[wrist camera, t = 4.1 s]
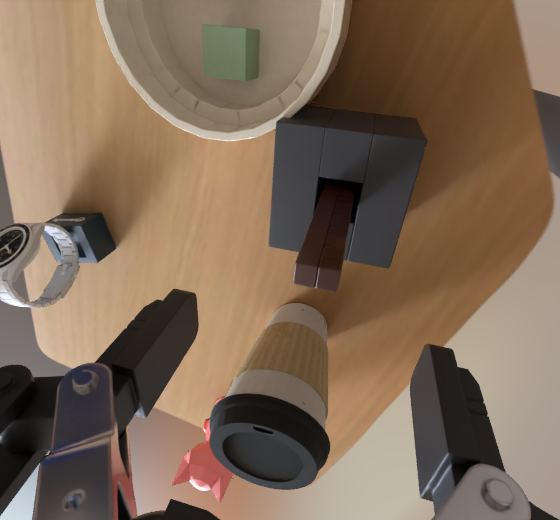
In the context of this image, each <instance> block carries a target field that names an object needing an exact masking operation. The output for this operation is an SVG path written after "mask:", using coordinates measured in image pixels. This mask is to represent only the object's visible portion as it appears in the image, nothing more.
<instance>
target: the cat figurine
mask: <svg viewBox="0 0 560 520" xmlns="http://www.w3.org/2000/svg"><path fill="white" fill-rule="evenodd" d="M223 398H225V397H223ZM223 398H220V399H219V400H217V401H216V404H217V403H218V402H219V401H220V400H222V399H223ZM203 426H204V427H203V429H204V431H205V433H206V442H205V443H201V444H198V445H197V446H195V447H194V448H193V449H192V450H191V451H189V452H188V453H187V454H186V455H185V456H184V457H183V459H182V462H181V464H180V467H179V470H178V472H177V475H176V477H175V479H174V482H173V484H172V485H176V484H180V483H183V482H186V481H190V482H191V484H192V485H193V486H194V487H196V488H197V489H199V490H205V491H207V490H209V489H212V491H213V493H214V495H215V496H216V498H217V500H218V502H219V503H221V501H222V498H223V496H224V494H225V491H226V489H227V487H228V485H229V482H230V480H231V478H232V472H231V471H229V470H228V469H227V468H225V467H224V466H223V465H222V464H221V463H220V462H219V461H218V460H217V459H216V457H215V456H214V454H213V452H212V451H211V448H210V444H209V443H210V434H211V431H210V427H209V426H210V418H209V419H206V420H205V422H204V425H203Z"/></svg>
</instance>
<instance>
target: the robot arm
mask: <svg viewBox="0 0 560 520" xmlns="http://www.w3.org/2000/svg"><path fill="white" fill-rule="evenodd" d="M198 325H199V324H198V311H197V298H196V294H195V293H193V292H188V291H183V290H179V289H173V290H172V291H171V292H170V293H169V294H168V295H167V297H166V298H165V299H164V300H163V301H162V300H156V301H154V302H152V303H150V304H149V305H147V306H145V307H144V308H143V309H142V310H141V311H140V312H139V314H138V315H137V316H136V317H135V319H134V320H132V321H131V322H130V324H129V325H128V326H127V328H125V329H124V330H123V331H122V333H121V334H120V335H119V336H118V337H117V338H116V339H115V340H114V342H113V343H112V344H111V345H110V346H109V347H108V348H107V349H106V351H105V352H104V353H103V354H102V355H101V356H100V357H99V358H98V360H97V361H96V362H95V363H87V364H83V365H80V366H78V367H76V368H74V369H72V370H71V371H70V372H68V373H67V374H66V375H65V376H55V377H33V376H32V374H31V372H30V370H29V369H28V368H27V367H25V366H22V365H8V366H4V367H1V368H0V516H1V514H2V513H3V512H4V510H5V509H6V508H7V506H8V505H9V503H10V502H11V501H12V499H13V498H14V496H15V495H16V494H17V493H18V491H19V490H20V488H21V487H22V486H23V485H24V483H25V482H26V481H27V479H28V478H29V476H30V475H31V474H32V472H33V471H34V470H35V468H36V467H37V466H38V464H39V463H40V466H39V471H38V479H37V487H36V495H35V502H34V510H33V517H32V520H220V519H218V518H217V517H215V516H214V515H213V514H212V513H210V512H209V511H207V510H204V509H201V508H198V507H195V506H191V505H188V504H185V503H182V502H179V501H176V500H173V499H171V500H170V502H169V504H168V507H167V509H166V511H155V512H150V513H147V514H143V515H140V516H138V517H137V508H136V502H135V497H134V491H133V484H132V472H131V458H130V445H129V432H128V424H129V422H130V421H131V419H132V418H133V416H134V415H135V416H139V417H142V418H147V416H148V414H149V413H150V411H151V409H152V408H153V406H154V405H155V403H156V401H157V400H158V398H159V397H160V395H161V393H162V392H163V390H164V388H165V387H166V385H167V384H168V382H169V380H170V379H171V377H172V376H173V374H174V372H175V371H176V369H177V367H178V366H179V364H180V363H181V361H182V359H183V358H184V356H185V355H186V353H187V351H188V350H189V348H190V346H191V345H192V343H193V342H194V340H195V338H196V335H197V332H198ZM410 397H411V407H412V418H413V428H414V438H415V449H416V458H417V470H418V479H419V490H420V498H422V499H426V500H429V501H433V503H434V511H435V516H434V517H433V518H432V520H558V519H557V518H555V517H553V516H552V515H549V514H548V513H546V512H545V511H543V510H541V509H540V508H538V507H536V506H535V505H533V504H532V503H531V502H529V501H528V499H527V497H526V495H525V494H524V492H523V490H522V489H521V488H520V486H519V485H518V484H517V483H516V482H515V480H513V479H512V478H511V477H510V476H509V475H508V474H506V471H505V469H504V466H503V463H502V459H501V456H500V453H499V449H498V446H497V443H496V439H495V436H494V433H493V430H492V426H491V423H490V420H489V417H487V414H488V413H487V410H486V406H485V404H484V403H483V401H484V400H483V397H482V393H481V390H480V386H479V384H478V383H477V381H476V380H475V378H474V377H473V376H472V374H471V373H470V372H469V370H468V369H464V368H459V367H457V363H456V360H455V355H454V352H453V350H452V349H450V348H445V347H441V346H436V345H431V344H426V345H425V346H424V348H423V351H422V353H421V356H420V358H419V360H418V363H417V365H416V367H415V370H414V372H413V374H412V378H411V384H410ZM48 451H50V453H49V455H46V454H47V452H48ZM45 455H46V456H45Z"/></svg>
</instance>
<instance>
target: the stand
mask: <svg viewBox="0 0 560 520" xmlns="http://www.w3.org/2000/svg"><path fill="white" fill-rule="evenodd" d="M426 144H427V139H426V137H425V135H424V134H423V132H422V130H421V128H420V126H419V124H418V122H417V120H416V119H415V118H406V117H398V116H389V115H380V114H372V113H364V112H355V111H346V110H337V109H329V108H320V107H312V106H304V107H303V108H302V109H301V110H300V111H298V112H297V113H296V114H295V115H293V116H292V117H291V118H286V117H282V118H281V119H279V120H278V121H276V134H275V151H274V167H273V184H272V200H271V217H270V233H269V247H275V248H280V249H286V250H291V251H296V252H300V249H301V247H302V244H303V241H304V239H305V236H306V234H307V231H308V228H309V226H310V223H311V221H312V218H313V215H314V213H315V210H316V208H317V205H318V202H319V200H320V197H321V195H322V192H323V190H324V187H325V184H326V181H327V178H332V179H339V180H345V181H352V182H359V183H360V188H355V193H354V199H353V205H352V211H351V217H350V223H349V229H348V235H347V241H346V247H345V253H344V259H343V260H345V261H346V260H347V261H351V262H357V263H362V264H367V265H373V266H378V267H383V268H390V265H391V262H392V259H393V255H394V252H395V248H396V245H397V242H398V238H399V235H400V232H401V228H402V225H403V221H404V218H405V215H406V211H407V208H408V205H409V201H410V198H411V194H412V191H413V188H414V184H415V181H416V177H417V174H418V171H419V167H420V164H421V161H422V157H423V154H424V150H425V147H426Z"/></svg>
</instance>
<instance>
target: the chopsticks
mask: <svg viewBox="0 0 560 520" xmlns="http://www.w3.org/2000/svg"><path fill="white" fill-rule="evenodd" d="M355 187H356V182H352V181H345V180H339V179H332V178H328V179H327V182H326V184H325V187H324V190H323V192H322V195H321V197H320V200H319V202H318V205H317V208H316V210H315V213H314V215H313V218H312V221H311V223H310V226H309V228H308V231H307V234H306V236H305V239H304V241H303V244H302V247H301V249H300V252H299V254H298V257H297V260H296V262H295V270H294V279H293V284H297V285H302V286H307V287H312V288H314V287H316V288H318V289H323V290H328V291H333V292H337V291H338V286H339V281H340V276H341V271H342V265H343V259H344V253H345V247H346V241H347V235H348V229H349V223H350V217H351V211H352V205H353V199H354V193H355Z"/></svg>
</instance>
